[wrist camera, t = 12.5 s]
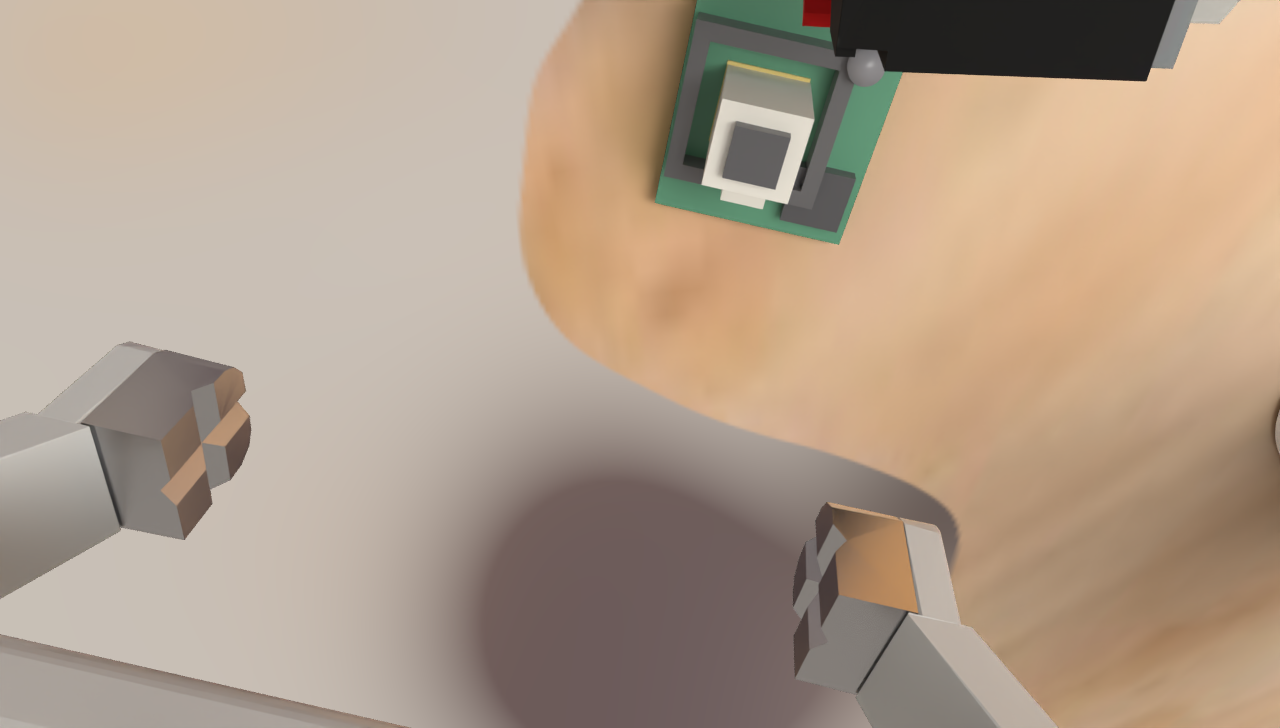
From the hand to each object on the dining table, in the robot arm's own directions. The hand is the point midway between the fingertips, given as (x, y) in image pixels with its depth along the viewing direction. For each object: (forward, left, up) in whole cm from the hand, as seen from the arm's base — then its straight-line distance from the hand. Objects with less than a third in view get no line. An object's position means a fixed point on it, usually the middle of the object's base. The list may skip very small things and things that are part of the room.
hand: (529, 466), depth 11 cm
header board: (-5, +5, -33) cm, 34 cm away
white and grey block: (-4, +5, -32) cm, 32 cm away
